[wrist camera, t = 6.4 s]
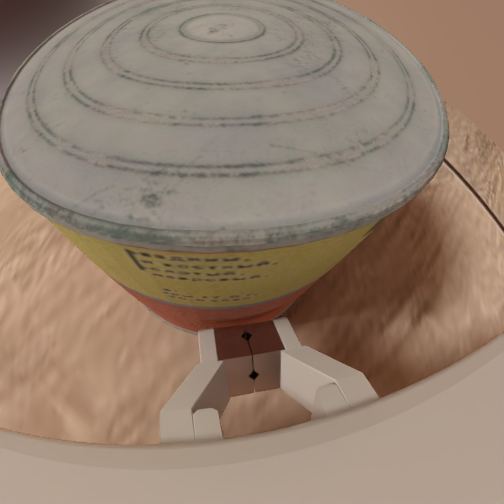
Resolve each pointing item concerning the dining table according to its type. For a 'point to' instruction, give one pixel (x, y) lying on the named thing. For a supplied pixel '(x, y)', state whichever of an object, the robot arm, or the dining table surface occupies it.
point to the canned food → (220, 146)
